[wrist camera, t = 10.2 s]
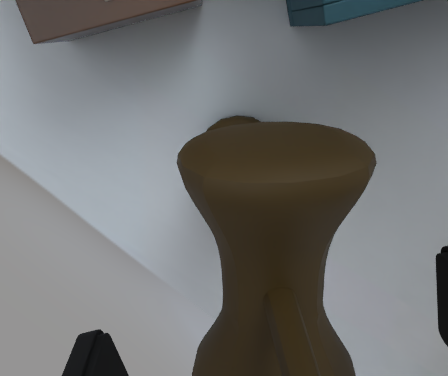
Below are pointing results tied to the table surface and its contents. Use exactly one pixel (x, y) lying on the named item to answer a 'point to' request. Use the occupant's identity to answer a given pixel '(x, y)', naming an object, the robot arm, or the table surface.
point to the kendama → (274, 240)
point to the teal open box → (336, 10)
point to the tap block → (90, 16)
